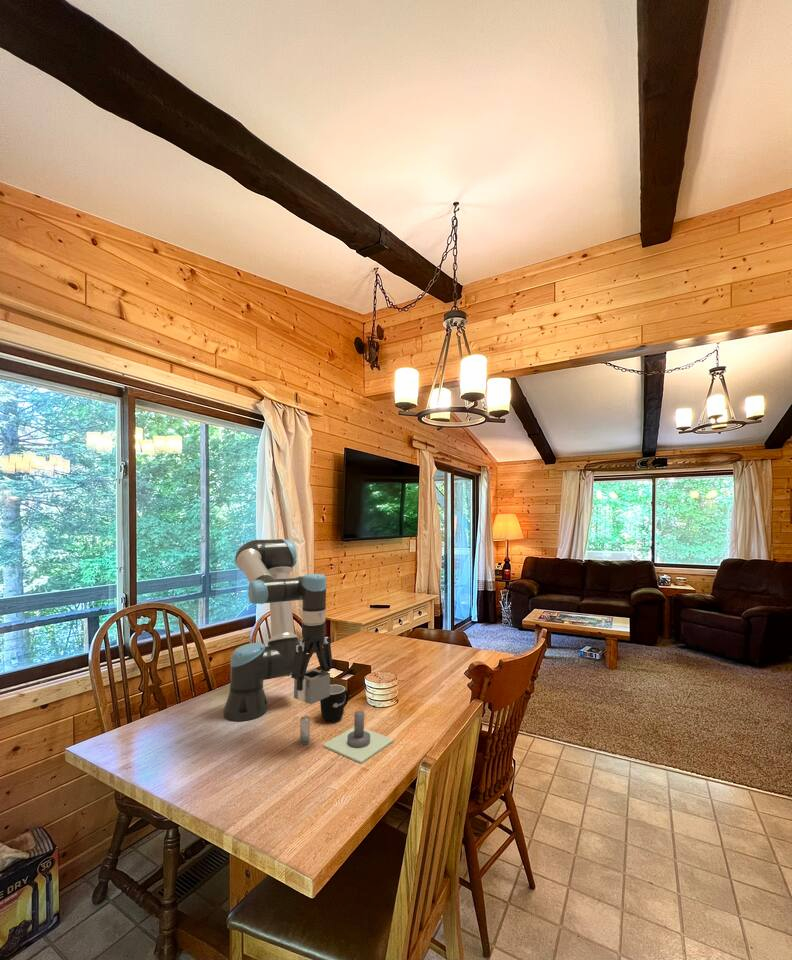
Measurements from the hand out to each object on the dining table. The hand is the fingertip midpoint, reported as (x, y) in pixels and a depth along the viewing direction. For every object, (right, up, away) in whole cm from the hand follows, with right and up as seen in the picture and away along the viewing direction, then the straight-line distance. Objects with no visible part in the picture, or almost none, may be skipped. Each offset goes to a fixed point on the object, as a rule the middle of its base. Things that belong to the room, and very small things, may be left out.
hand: (312, 696), depth 139 cm
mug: (+5, -16, +17) cm, 24 cm away
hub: (+15, -15, -1) cm, 21 cm away
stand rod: (-2, -15, -1) cm, 15 cm away
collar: (0, 0, 0) cm, 0 cm away
